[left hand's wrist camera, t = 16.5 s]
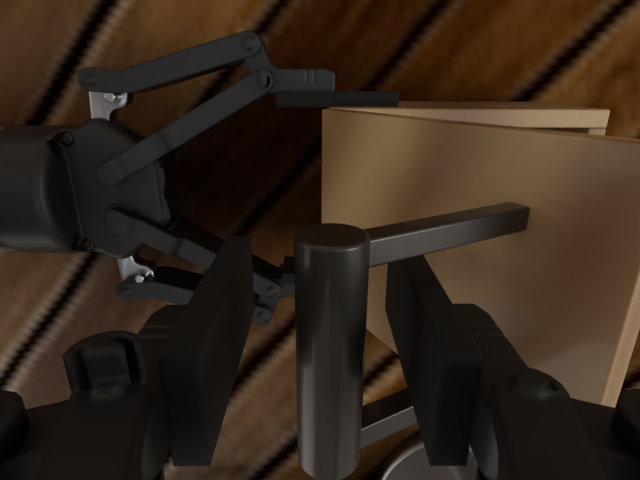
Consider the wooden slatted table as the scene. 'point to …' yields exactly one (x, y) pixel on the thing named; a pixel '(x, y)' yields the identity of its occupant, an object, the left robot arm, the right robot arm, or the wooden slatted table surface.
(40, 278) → the wooden slatted table surface
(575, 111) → the chest
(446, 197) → the lid
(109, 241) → the right robot arm
